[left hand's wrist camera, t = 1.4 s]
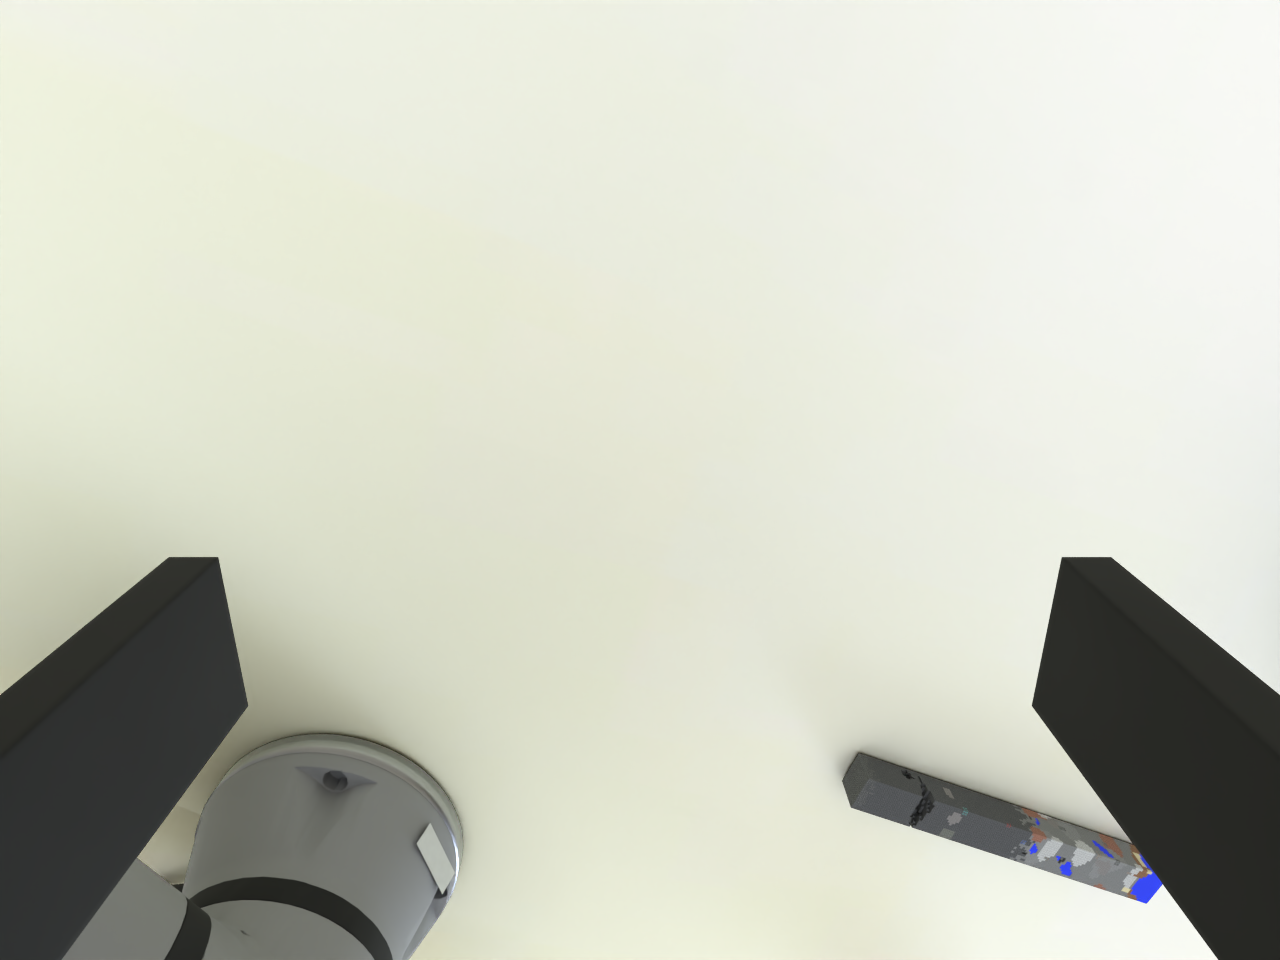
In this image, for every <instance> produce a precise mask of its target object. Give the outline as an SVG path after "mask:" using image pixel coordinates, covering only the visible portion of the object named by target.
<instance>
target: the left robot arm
mask: <svg viewBox="0 0 1280 960" xmlns="http://www.w3.org/2000/svg"><path fill="white" fill-rule="evenodd" d="M247 707H248V703H247V698H246V693H245V688H244V683H243V678H242V673H241V668H240V663H239V658H238V653H237V648H236V643H235V638H234V633H233V628H232V624H231V619H230V614H229V609H228V604H227V599H226V594H225V589H224V584H223V579H222V574H221V569H220V564H219V559H218V557H169V558H167V559H166V560H165V561H164V562H163V563H161V564H160V565H159V566H158V567H156V568H155V569H154V570H153V571H151V572H150V573H149V574H148V575H147V576H145V577H144V578H143V579H142V580H140V581H139V582H138V583H137V584H136V585H134V586H133V587H132V588H131V589H129V590H128V591H127V592H126V593H125V594H123V595H122V596H121V597H120V598H118V599H117V600H116V601H115V602H114V603H112V604H111V605H110V606H109V607H107V608H106V609H105V610H104V611H103V612H101V613H100V614H99V615H98V616H96V617H95V618H94V619H93V620H92V621H90V622H89V623H88V624H87V625H85V626H84V627H83V628H82V629H81V630H79V631H78V632H77V633H76V634H74V635H73V636H72V637H71V638H70V639H68V640H67V641H66V642H65V643H63V644H62V645H61V646H60V647H59V648H57V649H56V650H55V651H54V652H52V653H51V654H50V655H49V656H48V657H46V658H45V659H44V660H43V661H41V662H40V663H39V664H38V665H37V666H35V667H34V668H33V669H32V670H30V671H29V672H28V673H27V674H25V675H24V676H23V677H22V678H21V679H19V680H18V681H17V682H16V683H14V684H13V685H12V686H11V687H10V688H8V689H7V690H6V691H5V692H3V693H2V694H1V695H0V960H409V959H410V957H411V956H412V954H413V953H414V952H415V950H416V949H417V947H418V946H419V945H420V943H421V942H422V940H423V939H424V937H425V936H426V935H427V933H428V932H429V930H430V929H431V928H432V926H433V925H434V923H435V922H436V920H437V919H438V918H439V916H440V915H441V913H442V911H443V910H444V908H445V906H446V904H447V902H448V901H449V899H450V897H451V895H452V892H453V890H454V887H455V883H456V880H457V876H458V872H459V868H460V864H461V861H462V854H463V836H462V829H461V825H460V821H459V819H458V816H457V813H456V811H455V809H454V807H453V805H452V803H451V801H450V800H449V798H448V797H447V795H446V793H445V792H444V791H443V790H442V788H441V787H440V786H439V785H438V784H437V783H436V781H435V780H434V779H433V778H432V777H431V776H430V775H428V774H427V773H426V772H425V771H424V770H423V769H422V768H420V767H419V766H417V765H416V764H415V763H413V762H412V761H410V760H409V759H407V758H405V757H404V756H402V755H400V754H398V753H397V752H395V751H393V750H391V749H388V748H386V747H383V746H381V745H379V744H376V743H373V742H369V741H366V740H363V739H358V738H354V737H349V736H342V735H332V734H308V735H298V736H293V737H287V738H284V739H280V740H276V741H273V742H271V743H268V744H265V745H263V746H261V747H259V748H257V749H255V750H253V751H252V752H250V753H248V754H247V755H245V756H244V757H243V758H241V759H240V760H239V761H238V762H236V763H235V764H234V765H233V766H232V767H231V768H230V769H229V771H228V772H227V773H226V775H225V776H224V777H223V778H222V780H221V781H220V783H219V784H218V786H217V787H216V789H215V790H214V792H213V793H212V794H211V796H210V798H209V799H208V801H207V803H206V804H205V807H204V809H203V811H202V814H201V817H200V820H199V822H198V825H197V829H196V833H195V842H194V846H193V849H192V853H191V857H190V861H189V865H188V869H187V873H186V877H185V882H184V884H176V885H171V884H170V883H168V882H167V881H166V880H165V879H163V878H162V877H161V876H159V875H158V874H157V873H156V872H154V871H153V870H152V869H150V868H149V867H148V866H147V865H145V864H144V863H143V862H142V861H140V860H139V859H138V858H137V856H138V855H139V854H140V852H141V851H142V850H143V848H144V847H145V846H146V844H147V843H148V841H149V840H150V839H151V837H152V836H153V835H154V833H155V832H156V831H157V829H158V828H159V827H160V825H161V824H162V822H163V821H164V820H165V818H166V817H167V816H168V814H169V813H170V812H171V810H172V809H173V807H174V806H175V805H176V803H177V802H178V801H179V799H180V798H181V797H182V795H183V794H184V792H185V791H186V790H187V788H188V787H189V786H190V784H191V783H192V782H193V780H194V779H195V777H196V776H197V775H198V773H199V772H200V771H201V769H202V768H203V767H204V765H205V764H206V763H207V761H208V760H209V758H210V757H211V756H212V754H213V753H214V752H215V750H216V749H217V748H218V746H219V745H220V743H221V742H222V741H223V739H224V738H225V737H226V735H227V734H228V733H229V731H230V730H231V728H232V727H233V726H234V724H235V723H236V722H237V720H238V719H239V718H240V716H241V715H242V713H243V712H244V711H245V709H246V708H247ZM1032 707H1033V708H1034V709H1035V711H1036V712H1037V713H1038V715H1039V716H1040V718H1041V719H1042V720H1043V722H1044V723H1045V724H1046V726H1047V727H1048V728H1049V730H1050V731H1051V733H1052V734H1053V735H1054V737H1055V738H1056V739H1057V741H1058V742H1059V743H1060V745H1061V746H1062V748H1063V749H1064V750H1065V752H1066V753H1067V754H1068V756H1069V757H1070V758H1071V760H1072V761H1073V763H1074V764H1075V765H1076V767H1077V768H1078V769H1079V771H1080V772H1081V773H1082V775H1083V776H1084V777H1085V779H1086V780H1087V782H1088V783H1089V784H1090V786H1091V787H1092V788H1093V790H1094V791H1095V792H1096V794H1097V795H1098V797H1099V798H1100V799H1101V801H1102V802H1103V803H1104V805H1105V806H1106V807H1107V809H1108V810H1109V812H1110V813H1111V814H1112V816H1113V817H1114V818H1115V820H1116V821H1117V822H1118V824H1119V825H1120V827H1121V828H1122V829H1123V831H1124V832H1125V833H1126V835H1127V836H1128V837H1129V839H1130V840H1131V841H1132V843H1133V844H1134V846H1135V847H1136V848H1137V850H1138V851H1139V852H1140V854H1141V855H1142V856H1143V858H1144V859H1145V861H1146V862H1147V863H1148V865H1149V866H1150V867H1151V869H1152V870H1153V871H1154V873H1155V874H1156V876H1157V877H1158V878H1159V880H1160V881H1161V882H1162V884H1163V885H1164V886H1165V888H1166V889H1167V891H1168V892H1169V893H1170V895H1171V896H1172V897H1173V899H1174V900H1175V901H1176V903H1177V904H1178V905H1179V907H1180V908H1181V910H1182V911H1183V912H1184V914H1185V915H1186V916H1187V918H1188V919H1189V920H1190V922H1191V923H1192V925H1193V926H1194V927H1195V929H1196V930H1197V931H1198V933H1199V934H1200V935H1201V937H1202V938H1203V940H1204V941H1205V942H1206V944H1207V945H1208V946H1209V948H1210V949H1211V950H1212V952H1213V953H1214V955H1215V956H1216V957H1217V959H1218V960H1280V695H1279V694H1278V693H1277V692H1275V691H1274V690H1273V689H1272V688H1270V687H1269V686H1268V685H1267V684H1266V683H1264V682H1263V681H1262V680H1261V679H1259V678H1258V677H1257V676H1256V675H1255V674H1253V673H1252V672H1251V671H1250V670H1248V669H1247V668H1246V667H1245V666H1243V665H1242V664H1241V663H1240V662H1239V661H1237V660H1236V659H1235V658H1234V657H1232V656H1231V655H1230V654H1229V653H1228V652H1226V651H1225V650H1224V649H1223V648H1221V647H1220V646H1219V645H1218V644H1217V643H1215V642H1214V641H1213V640H1212V639H1210V638H1209V637H1208V636H1207V635H1206V634H1204V633H1203V632H1202V631H1201V630H1199V629H1198V628H1197V627H1196V626H1195V625H1193V624H1192V623H1191V622H1190V621H1188V620H1187V619H1186V618H1185V617H1184V616H1182V615H1181V614H1180V613H1179V612H1177V611H1176V610H1175V609H1174V608H1173V607H1171V606H1170V605H1169V604H1168V603H1166V602H1165V601H1164V600H1163V599H1162V598H1160V597H1159V596H1158V595H1157V594H1155V593H1154V592H1153V591H1152V590H1151V589H1149V588H1148V587H1147V586H1146V585H1144V584H1143V583H1142V582H1141V581H1140V580H1138V579H1137V578H1136V577H1135V576H1133V575H1132V574H1131V573H1130V572H1129V571H1127V570H1126V569H1125V568H1124V567H1122V566H1121V565H1120V564H1119V563H1117V562H1116V561H1115V560H1114V559H1113V558H1111V557H1062V559H1061V564H1060V569H1059V574H1058V579H1057V584H1056V589H1055V594H1054V599H1053V604H1052V609H1051V614H1050V619H1049V624H1048V628H1047V633H1046V638H1045V643H1044V648H1043V653H1042V658H1041V663H1040V668H1039V673H1038V678H1037V683H1036V688H1035V693H1034V698H1033V703H1032Z"/></svg>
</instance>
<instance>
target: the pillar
mask: <svg viewBox="0 0 1280 960" xmlns="http://www.w3.org/2000/svg"><path fill="white" fill-rule="evenodd" d="M842 782H843V785H844V788H845V791H846V794H847V797H848V800H849V803H850V806H851V808H854V809H857V810H860V811H863V812H866V813H869V814H872V815H876V816H879V817H882V818H885V819H888V820H891V821H894V822H897V823H900V824H903V825H906V826H909V827H910V825H911V826H912V828H916V829H919V830H922V831H925V832H928V833H931V834H934V835H937V836H940V837H943V838H946V839H949V840H952V841H955V842H959V843H962V844H965V845H968V846H971V847H974V848H977V849H980V850H983V851H986V852H989V853H992V854H995V855H999V856H1002V857H1005V858H1008V859H1011V860H1014V861H1017V862H1020V863H1023V864H1026V865H1029V866H1032V867H1035V868H1039V869H1042V870H1045V871H1048V872H1051V873H1054V874H1057V875H1060V876H1063V877H1066V878H1069V879H1072V880H1075V881H1079V882H1082V883H1085V884H1088V885H1091V886H1094V887H1097V888H1100V889H1103V890H1106V891H1109V892H1112V893H1115V894H1118V895H1122V896H1125V897H1128V898H1131V899H1134V900H1137V901H1140V902H1143V903H1147V902H1148V901H1149V900H1150V899H1151V898H1152V896H1153V895H1154V894H1155V893H1156V892H1157V890H1158V889H1159V888H1160V887H1161V885H1162V882H1161V881H1160V880H1159V878H1158V877H1157V876H1156V874H1155V873H1154V871H1153V870H1152V869H1151V867H1150V866H1149V865H1148V863H1147V862H1146V861H1145V859H1144V858H1143V856H1142V855H1141V854H1140V852H1139V851H1138V850H1137V848H1136V847H1135V846H1134V845H1132V844H1129V843H1126V842H1123V841H1120V840H1117V839H1114V838H1111V837H1109V836H1106V835H1103V834H1100V833H1097V832H1094V831H1091V830H1088V829H1085V828H1082V827H1079V826H1076V825H1073V824H1070V823H1067V822H1064V821H1061V820H1058V819H1055V818H1052V817H1049V816H1046V815H1043V814H1040V813H1037V812H1034V811H1031V810H1028V809H1025V808H1022V807H1019V806H1016V805H1013V804H1010V803H1007V802H1004V801H1001V800H998V799H995V798H992V797H989V796H986V795H983V794H980V793H977V792H974V791H971V790H968V789H965V788H962V787H959V786H956V785H953V784H950V783H947V782H944V781H941V780H939V779H936V778H933V777H930V776H927V775H924V774H921V773H918V772H915V771H912V770H909V769H906V768H903V767H900V766H897V765H894V764H891V763H888V762H885V761H882V760H879V759H876V758H873V757H870V756H867V755H864V754H861V753H859V754H858V755H857V757H856V759H855V760H854V762H853V764H852V765H851V767H850V769H849V770H848V772H847V774H846V775H845V777H844V779H843V780H842Z"/></svg>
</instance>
